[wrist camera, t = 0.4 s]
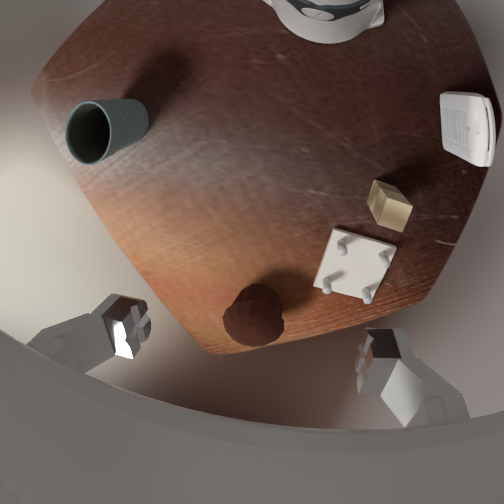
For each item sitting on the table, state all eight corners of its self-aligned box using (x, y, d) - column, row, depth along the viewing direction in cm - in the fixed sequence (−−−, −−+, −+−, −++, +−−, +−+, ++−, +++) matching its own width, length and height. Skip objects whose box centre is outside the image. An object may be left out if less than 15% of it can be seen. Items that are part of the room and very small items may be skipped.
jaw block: (374, 179, 41) (387, 197, 34) (396, 186, 41) (412, 206, 34) (366, 201, 44) (377, 224, 36) (388, 208, 43) (402, 232, 36)
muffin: (280, 275, 54) (272, 310, 45) (293, 318, 59) (288, 354, 50) (223, 284, 58) (207, 317, 49) (241, 324, 62) (230, 358, 54)
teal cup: (151, 92, 41) (108, 94, 31) (155, 147, 46) (114, 163, 36) (106, 100, 43) (62, 108, 32) (111, 151, 48) (69, 168, 37)
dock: (333, 227, 47) (334, 238, 44) (395, 245, 46) (400, 257, 43) (313, 283, 53) (312, 296, 50) (370, 297, 52) (373, 310, 49)
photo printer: (461, 152, 35) (500, 172, 25) (440, 152, 36) (477, 171, 26) (458, 92, 30) (499, 95, 20) (436, 90, 32) (474, 90, 21)
